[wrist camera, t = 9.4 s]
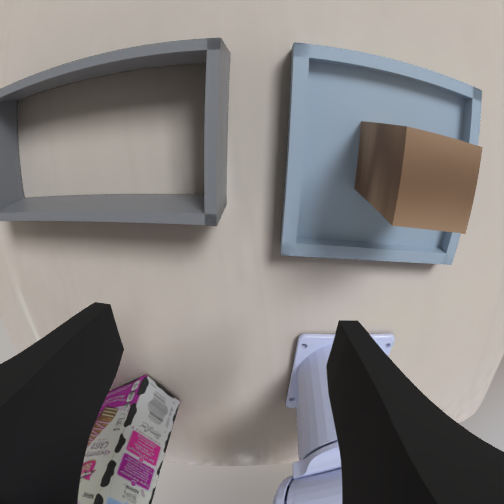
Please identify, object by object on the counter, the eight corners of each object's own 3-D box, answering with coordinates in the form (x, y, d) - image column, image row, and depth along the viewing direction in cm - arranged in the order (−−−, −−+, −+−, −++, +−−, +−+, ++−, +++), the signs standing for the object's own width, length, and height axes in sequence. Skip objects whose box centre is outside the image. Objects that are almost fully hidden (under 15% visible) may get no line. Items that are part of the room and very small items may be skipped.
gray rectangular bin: (226, 205, 18) (216, 225, 15) (21, 205, 18) (-7, 220, 15) (230, 52, 14) (220, 37, 11) (12, 94, 14) (-19, 98, 11)
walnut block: (413, 196, 16) (465, 233, 11) (354, 188, 16) (392, 225, 11) (421, 133, 14) (482, 147, 9) (361, 121, 15) (407, 126, 9)
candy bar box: (145, 370, 25) (87, 525, 10) (182, 399, 27) (145, 547, 12) (92, 395, 28) (43, 506, 14) (123, 418, 30) (85, 527, 15)
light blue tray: (441, 255, 18) (451, 264, 17) (280, 244, 19) (280, 255, 17) (468, 90, 13) (481, 90, 12) (291, 48, 14) (293, 42, 12)
